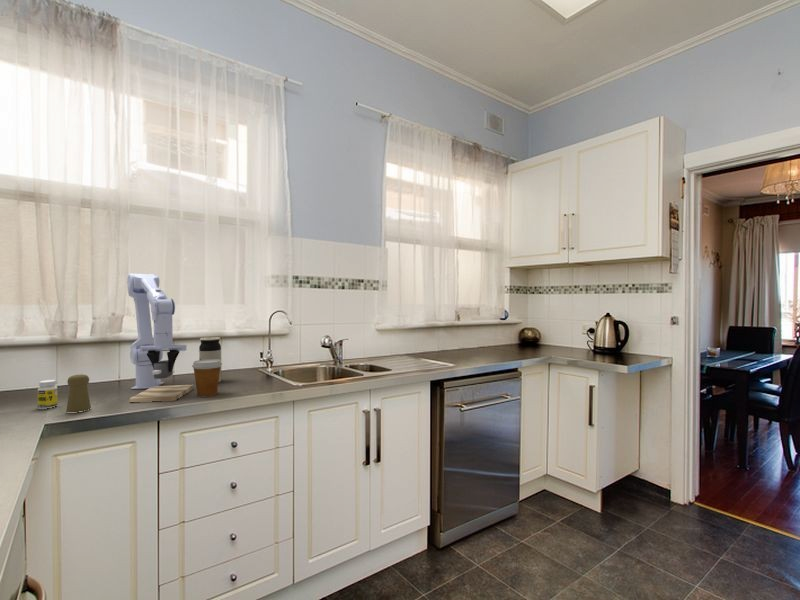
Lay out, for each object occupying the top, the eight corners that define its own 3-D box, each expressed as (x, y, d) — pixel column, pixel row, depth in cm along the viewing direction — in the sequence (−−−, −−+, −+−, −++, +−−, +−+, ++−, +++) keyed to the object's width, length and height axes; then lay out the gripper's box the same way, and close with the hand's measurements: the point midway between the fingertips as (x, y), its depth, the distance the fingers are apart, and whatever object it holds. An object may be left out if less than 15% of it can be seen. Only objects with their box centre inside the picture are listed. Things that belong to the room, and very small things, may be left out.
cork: (88, 406, 127) (87, 372, 127) (93, 410, 123) (93, 374, 123) (63, 411, 122) (63, 375, 122) (68, 414, 119) (68, 377, 118)
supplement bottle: (34, 410, 124) (34, 383, 123) (41, 406, 128) (40, 380, 128) (54, 408, 125) (54, 381, 125) (60, 404, 130) (59, 378, 130)
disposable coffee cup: (218, 397, 139) (218, 362, 139) (188, 398, 137) (188, 363, 137) (224, 391, 148) (224, 358, 148) (196, 392, 146) (196, 359, 146)
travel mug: (222, 379, 168) (221, 336, 168) (220, 383, 161) (219, 338, 160) (201, 381, 166) (200, 337, 166) (198, 385, 158) (197, 339, 158)
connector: (162, 374, 146) (162, 360, 146) (174, 373, 146) (174, 359, 146) (148, 380, 134) (148, 365, 134) (161, 380, 135) (161, 365, 135)
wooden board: (153, 390, 149) (153, 386, 149) (193, 388, 152) (193, 384, 152) (129, 402, 132) (129, 398, 132) (175, 400, 134) (175, 396, 134)
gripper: (135, 334, 136) (135, 374, 136) (181, 333, 139) (181, 372, 139) (144, 332, 143) (145, 370, 143) (188, 332, 146) (188, 369, 146)
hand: (163, 371), depth 142 cm, fingers closed on connector, 4 cm apart
